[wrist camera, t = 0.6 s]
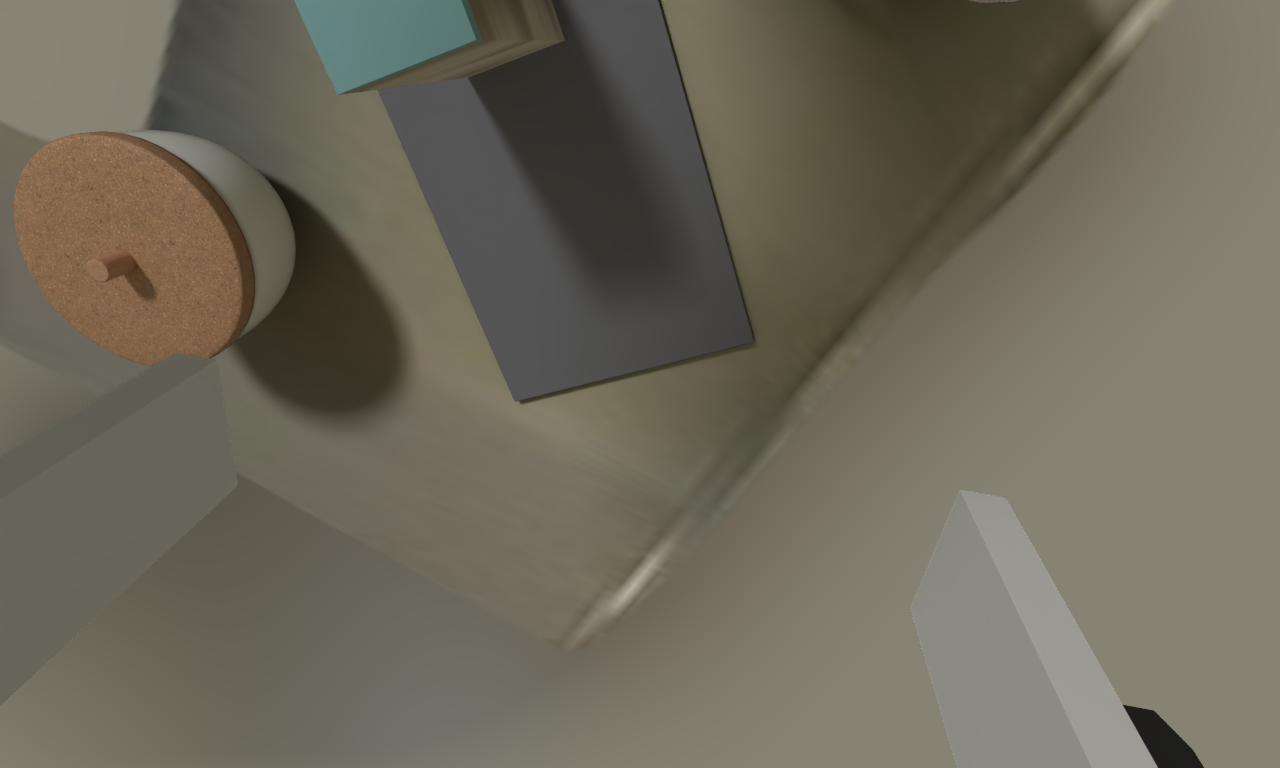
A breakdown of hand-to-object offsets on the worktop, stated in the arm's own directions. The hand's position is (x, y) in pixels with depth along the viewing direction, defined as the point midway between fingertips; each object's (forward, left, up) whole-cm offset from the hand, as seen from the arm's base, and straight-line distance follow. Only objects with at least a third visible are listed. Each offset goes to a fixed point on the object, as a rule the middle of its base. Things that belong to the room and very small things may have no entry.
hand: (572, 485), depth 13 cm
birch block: (-11, -5, -25) cm, 27 cm away
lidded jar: (-6, -23, -25) cm, 35 cm away
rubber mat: (-6, -5, -25) cm, 26 cm away
